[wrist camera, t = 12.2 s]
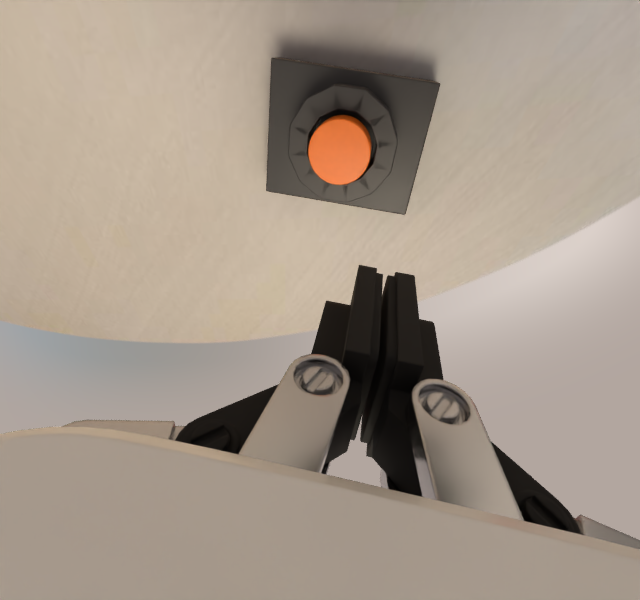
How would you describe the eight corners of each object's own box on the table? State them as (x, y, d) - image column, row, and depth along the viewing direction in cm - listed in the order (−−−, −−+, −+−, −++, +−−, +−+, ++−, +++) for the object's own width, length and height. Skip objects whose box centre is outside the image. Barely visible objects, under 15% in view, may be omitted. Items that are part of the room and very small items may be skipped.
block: (436, 81, 23) (445, 84, 19) (403, 204, 27) (406, 224, 24) (279, 57, 23) (262, 57, 20) (273, 182, 28) (258, 199, 24)
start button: (377, 119, 21) (376, 124, 20) (365, 181, 23) (364, 189, 22) (316, 110, 21) (311, 113, 20) (310, 172, 23) (305, 180, 22)
